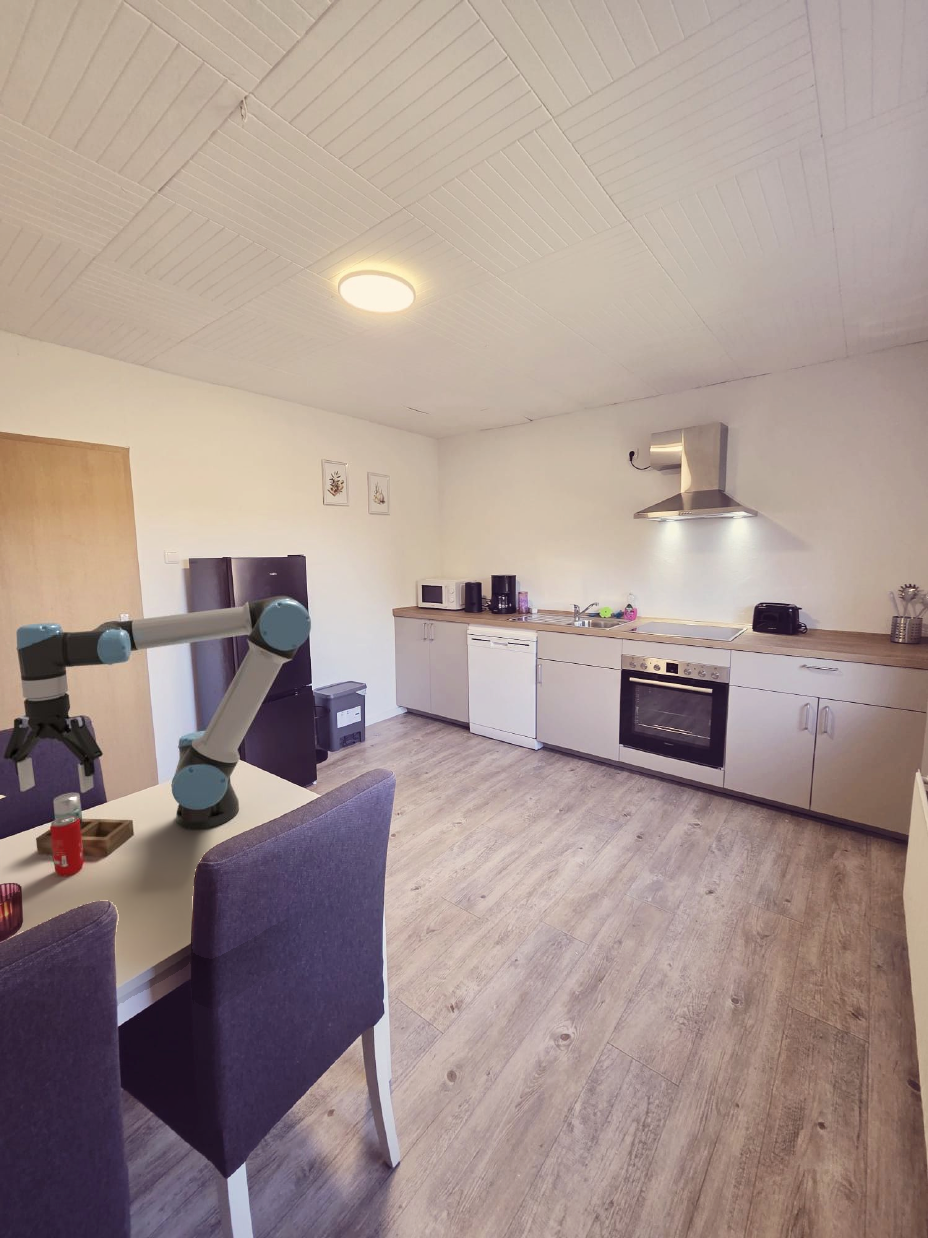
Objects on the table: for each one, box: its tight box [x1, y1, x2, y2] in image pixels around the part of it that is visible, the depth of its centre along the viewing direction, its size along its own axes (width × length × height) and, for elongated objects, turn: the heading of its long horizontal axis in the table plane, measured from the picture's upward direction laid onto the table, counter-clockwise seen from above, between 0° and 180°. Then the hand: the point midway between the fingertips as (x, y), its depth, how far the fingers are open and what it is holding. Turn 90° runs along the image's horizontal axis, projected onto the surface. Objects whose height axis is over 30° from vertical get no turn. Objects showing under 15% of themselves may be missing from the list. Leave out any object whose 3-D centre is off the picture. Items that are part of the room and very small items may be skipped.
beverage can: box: [49, 815, 85, 877], centre depth 113 cm, size 5×5×12 cm
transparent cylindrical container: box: [52, 792, 83, 830], centre depth 124 cm, size 5×5×12 cm
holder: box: [35, 818, 135, 857], centre depth 124 cm, size 17×9×4 cm, turn 88°
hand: (57, 789), depth 112 cm, fingers open, 13 cm apart
